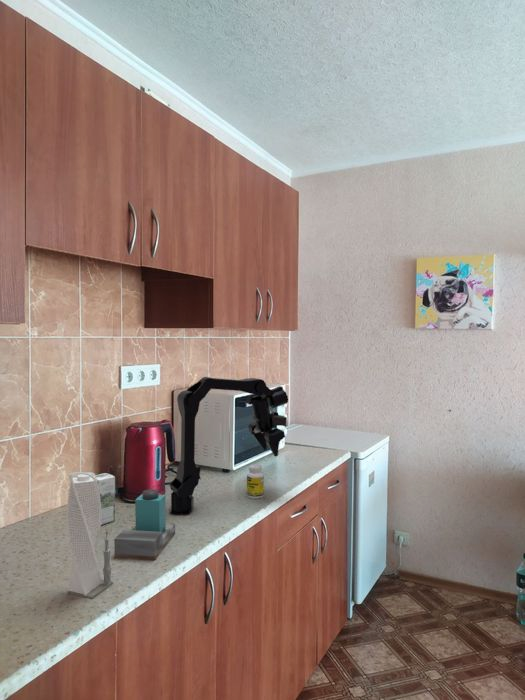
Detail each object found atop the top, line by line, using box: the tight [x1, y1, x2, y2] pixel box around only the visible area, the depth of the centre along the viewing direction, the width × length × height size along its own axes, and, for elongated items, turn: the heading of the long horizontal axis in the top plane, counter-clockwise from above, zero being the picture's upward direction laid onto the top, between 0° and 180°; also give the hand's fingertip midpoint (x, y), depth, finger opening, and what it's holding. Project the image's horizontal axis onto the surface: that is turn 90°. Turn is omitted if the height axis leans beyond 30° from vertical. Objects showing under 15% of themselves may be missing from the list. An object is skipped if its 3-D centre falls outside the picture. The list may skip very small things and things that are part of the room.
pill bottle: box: [246, 464, 265, 500], centre depth 176 cm, size 6×6×11 cm
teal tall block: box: [134, 488, 167, 533], centre depth 139 cm, size 5×7×13 cm
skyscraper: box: [66, 471, 114, 600], centre depth 112 cm, size 8×8×28 cm
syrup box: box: [95, 472, 116, 526], centre depth 152 cm, size 6×6×14 cm
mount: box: [113, 523, 176, 561], centre depth 136 cm, size 17×11×5 cm, turn 172°
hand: (270, 452), depth 177 cm, fingers open, 9 cm apart
